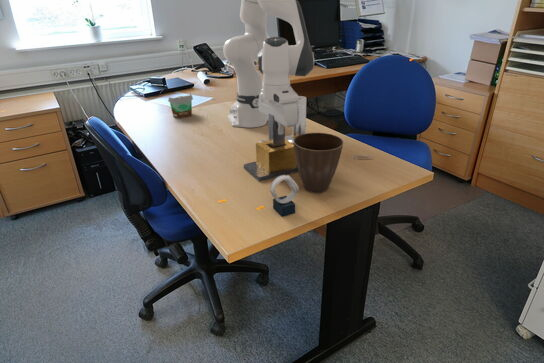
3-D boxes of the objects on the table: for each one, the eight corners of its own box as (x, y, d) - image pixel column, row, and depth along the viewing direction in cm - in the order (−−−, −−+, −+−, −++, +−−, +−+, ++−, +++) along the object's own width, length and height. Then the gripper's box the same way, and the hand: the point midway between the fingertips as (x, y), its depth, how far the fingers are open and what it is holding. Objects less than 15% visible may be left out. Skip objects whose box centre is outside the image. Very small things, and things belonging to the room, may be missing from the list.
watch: (301, 211, 113) (301, 177, 108) (276, 218, 109) (275, 183, 104) (291, 202, 117) (292, 169, 112) (267, 209, 114) (266, 175, 109)
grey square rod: (269, 147, 135) (268, 113, 130) (280, 144, 137) (280, 111, 132) (273, 150, 133) (272, 116, 127) (284, 147, 135) (284, 113, 129)
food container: (175, 120, 188) (172, 100, 183) (170, 117, 192) (167, 97, 188) (198, 115, 194) (196, 95, 190) (193, 112, 199) (191, 93, 194)
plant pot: (317, 173, 135) (319, 129, 127) (349, 189, 124) (353, 142, 117) (283, 185, 127) (283, 139, 120) (314, 204, 116) (316, 154, 109)
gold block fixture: (238, 163, 143) (234, 98, 132) (295, 150, 153) (296, 89, 142) (259, 181, 130) (256, 111, 119) (320, 165, 140) (323, 99, 129)
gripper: (253, 86, 133) (254, 125, 139) (283, 100, 117) (283, 143, 123) (269, 83, 136) (270, 122, 142) (301, 97, 120) (300, 139, 126)
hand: (276, 132), depth 132 cm, fingers closed on grey square rod, 3 cm apart
